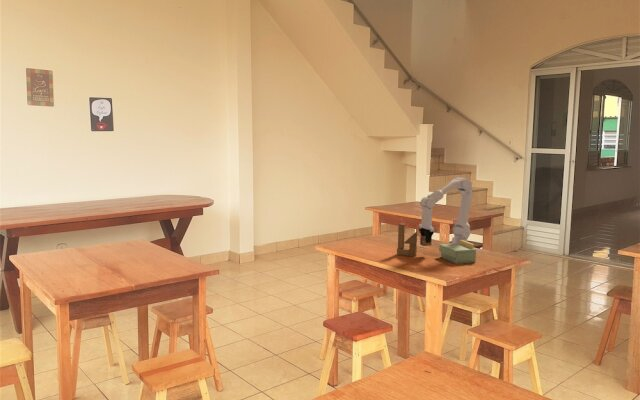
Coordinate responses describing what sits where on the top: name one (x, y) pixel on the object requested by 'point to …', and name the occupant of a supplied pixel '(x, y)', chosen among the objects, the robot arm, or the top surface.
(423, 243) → the small brown cube
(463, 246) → the lid
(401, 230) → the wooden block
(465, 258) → the toolbox
